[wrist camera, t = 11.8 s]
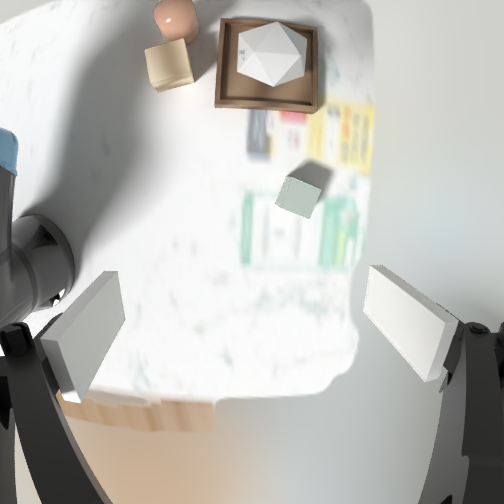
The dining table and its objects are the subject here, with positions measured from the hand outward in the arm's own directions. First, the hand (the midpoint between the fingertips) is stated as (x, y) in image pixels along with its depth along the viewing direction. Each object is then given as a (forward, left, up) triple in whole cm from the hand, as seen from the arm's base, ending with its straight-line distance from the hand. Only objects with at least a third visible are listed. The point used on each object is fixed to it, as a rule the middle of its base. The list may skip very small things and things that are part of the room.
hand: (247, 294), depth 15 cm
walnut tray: (+4, +21, -26) cm, 34 cm away
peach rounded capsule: (-8, +26, -26) cm, 38 cm away
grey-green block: (+8, +3, -26) cm, 28 cm away
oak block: (-9, +20, -26) cm, 34 cm away
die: (+4, +21, -25) cm, 33 cm away
